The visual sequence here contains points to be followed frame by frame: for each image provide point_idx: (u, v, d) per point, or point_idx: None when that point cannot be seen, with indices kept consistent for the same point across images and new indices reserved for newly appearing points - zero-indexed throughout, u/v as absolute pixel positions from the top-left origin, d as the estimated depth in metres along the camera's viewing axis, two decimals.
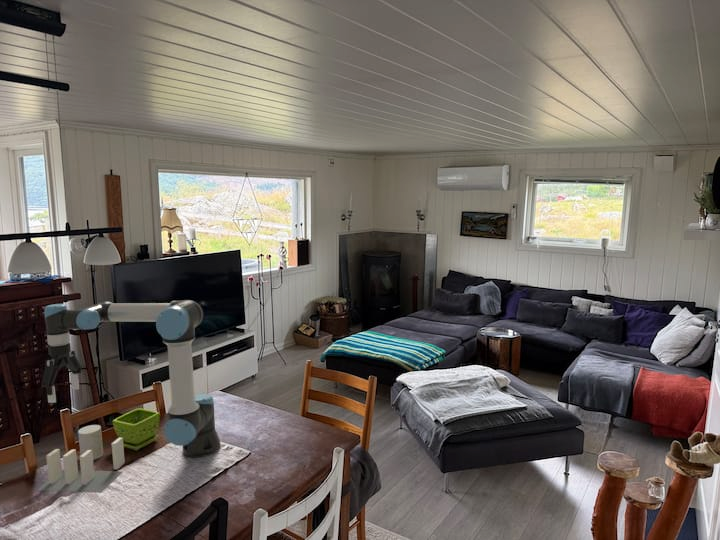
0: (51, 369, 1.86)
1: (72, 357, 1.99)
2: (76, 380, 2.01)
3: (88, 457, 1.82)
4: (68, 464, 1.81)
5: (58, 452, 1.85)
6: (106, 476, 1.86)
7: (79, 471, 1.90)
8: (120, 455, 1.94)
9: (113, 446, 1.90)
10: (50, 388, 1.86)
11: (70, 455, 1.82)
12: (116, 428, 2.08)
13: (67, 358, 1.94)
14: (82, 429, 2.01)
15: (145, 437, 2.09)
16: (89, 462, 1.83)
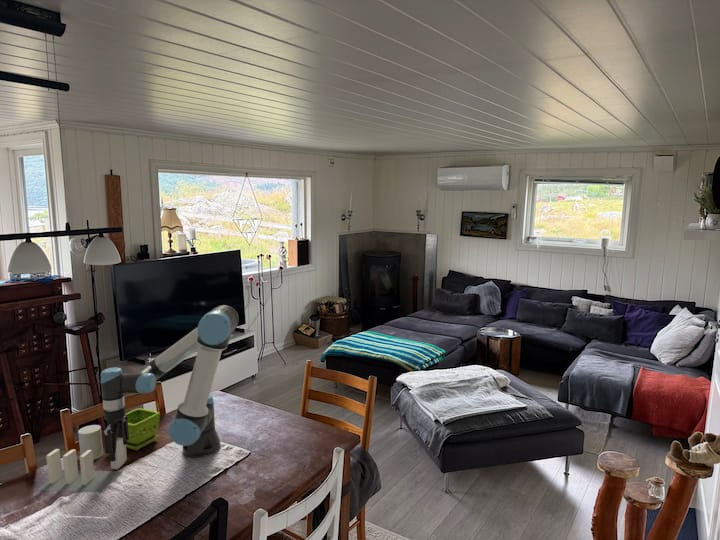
0: (110, 437, 1.87)
1: (124, 423, 1.97)
2: (124, 451, 1.96)
3: (88, 457, 1.82)
4: (68, 464, 1.81)
5: (58, 452, 1.85)
6: (106, 476, 1.86)
7: (79, 471, 1.90)
8: (120, 455, 1.94)
9: None
10: (113, 454, 1.89)
11: (70, 455, 1.82)
12: None
13: (122, 422, 1.93)
14: (82, 429, 2.01)
15: (145, 437, 2.09)
16: (89, 462, 1.83)
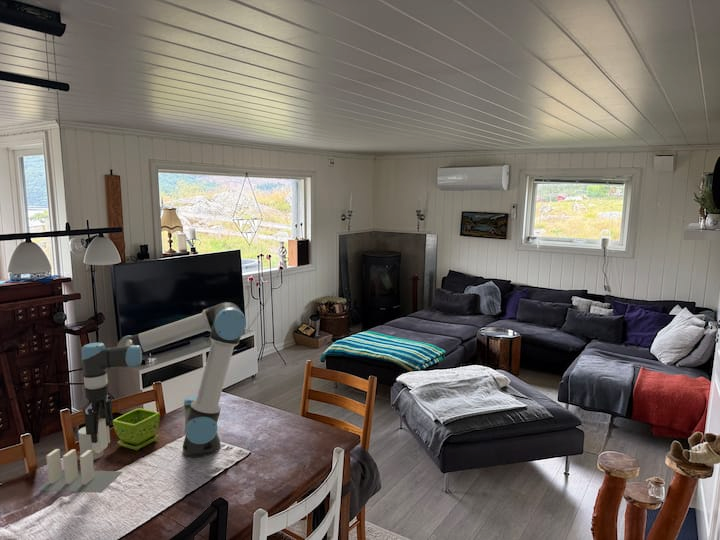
0: (92, 417, 1.74)
1: (107, 402, 1.84)
2: (107, 433, 1.83)
3: (88, 457, 1.82)
4: (68, 464, 1.81)
5: (58, 452, 1.85)
6: (106, 476, 1.86)
7: (79, 471, 1.90)
8: (103, 436, 1.81)
9: None
10: (95, 435, 1.77)
11: (70, 455, 1.82)
12: (116, 428, 2.08)
13: (104, 401, 1.80)
14: (82, 429, 2.01)
15: (145, 437, 2.09)
16: (89, 462, 1.83)
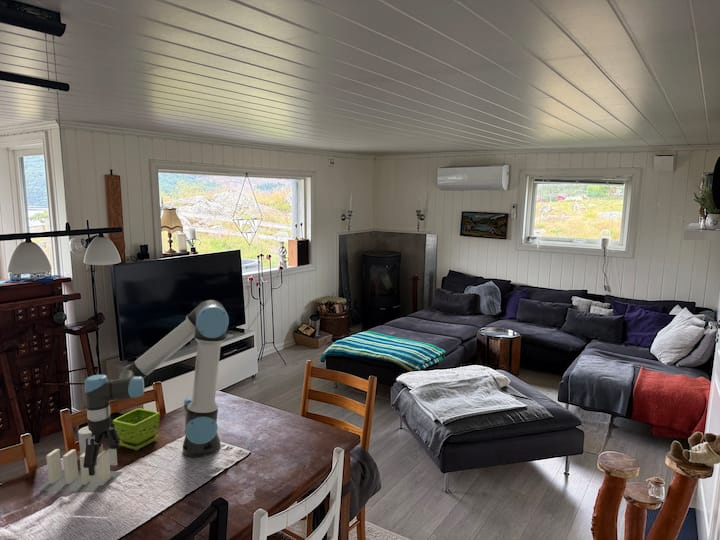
0: (92, 448, 1.74)
1: (111, 430, 1.86)
2: (114, 456, 1.88)
3: None
4: (68, 464, 1.81)
5: (58, 452, 1.85)
6: None
7: (79, 471, 1.90)
8: (106, 469, 1.83)
9: (98, 460, 1.79)
10: (92, 468, 1.75)
11: (70, 455, 1.82)
12: (116, 428, 2.08)
13: (107, 432, 1.82)
14: (82, 429, 2.01)
15: (145, 437, 2.09)
16: None
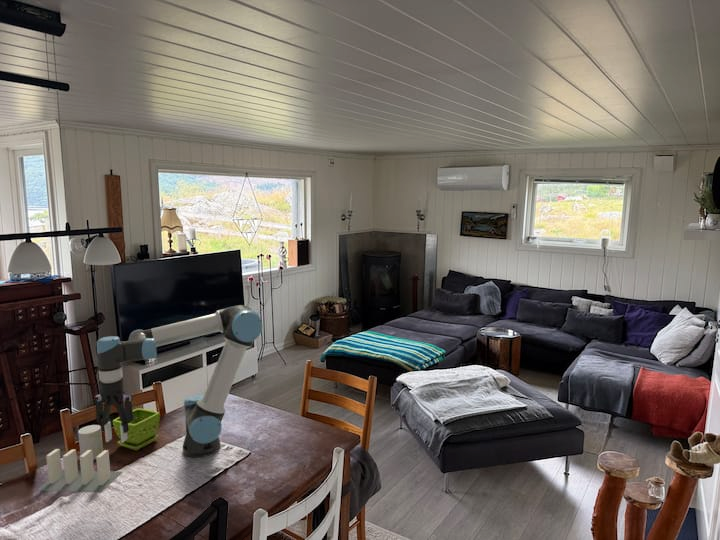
0: (96, 405, 1.78)
1: None
2: None
3: (88, 457, 1.82)
4: (68, 464, 1.81)
5: (58, 452, 1.85)
6: None
7: (79, 471, 1.90)
8: (106, 469, 1.83)
9: (98, 460, 1.79)
10: (103, 425, 1.79)
11: (70, 455, 1.82)
12: (116, 428, 2.08)
13: (113, 398, 1.76)
14: (82, 429, 2.01)
15: (145, 437, 2.09)
16: (89, 462, 1.83)
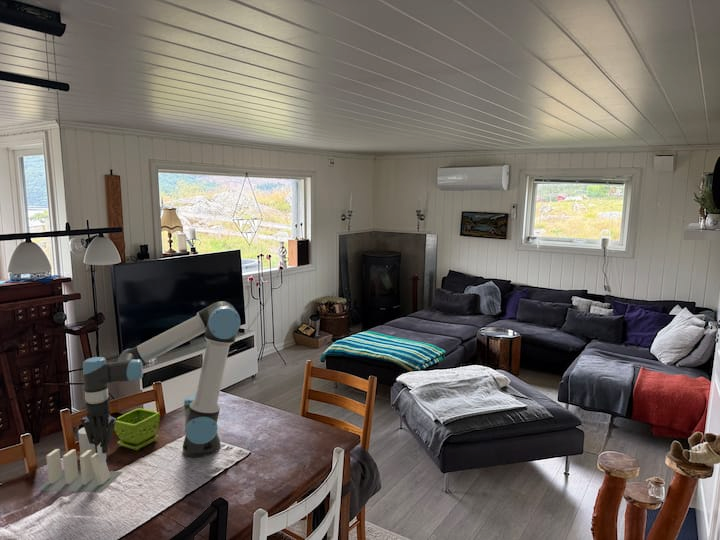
0: (85, 427, 1.79)
1: None
2: None
3: (88, 457, 1.82)
4: (68, 464, 1.81)
5: (58, 452, 1.85)
6: None
7: (79, 471, 1.90)
8: (103, 468, 1.83)
9: (92, 460, 1.80)
10: (96, 446, 1.81)
11: (70, 455, 1.82)
12: (116, 428, 2.08)
13: (98, 419, 1.78)
14: (82, 429, 2.01)
15: (145, 437, 2.09)
16: (89, 462, 1.83)
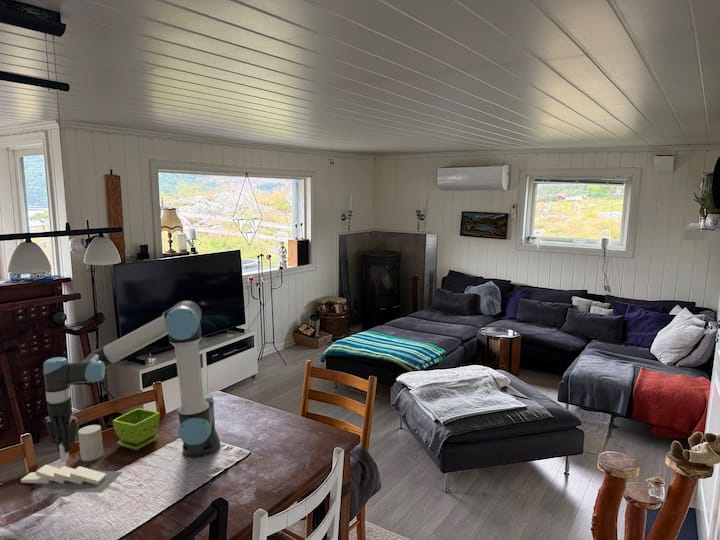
0: (47, 427, 1.81)
1: None
2: None
3: (63, 470, 1.84)
4: (45, 473, 1.82)
5: (31, 473, 1.87)
6: (106, 476, 1.86)
7: None
8: (91, 473, 1.84)
9: (73, 476, 1.81)
10: (58, 446, 1.82)
11: (41, 469, 1.84)
12: (116, 428, 2.08)
13: (60, 418, 1.79)
14: (82, 429, 2.01)
15: (145, 437, 2.09)
16: (68, 471, 1.84)
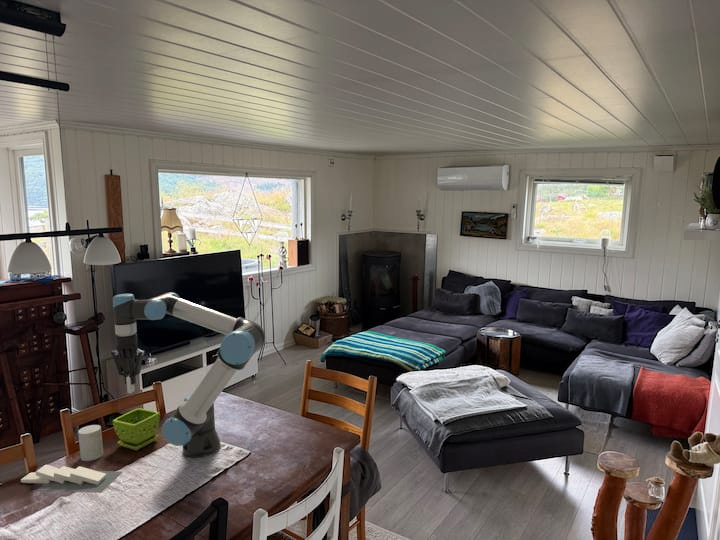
0: (115, 359, 1.91)
1: None
2: None
3: (63, 470, 1.84)
4: (45, 473, 1.82)
5: (31, 473, 1.87)
6: (106, 476, 1.86)
7: None
8: (91, 473, 1.84)
9: (73, 476, 1.81)
10: (125, 378, 1.92)
11: (41, 469, 1.84)
12: (116, 428, 2.08)
13: (128, 351, 1.90)
14: (82, 429, 2.01)
15: (145, 437, 2.09)
16: (68, 471, 1.84)
